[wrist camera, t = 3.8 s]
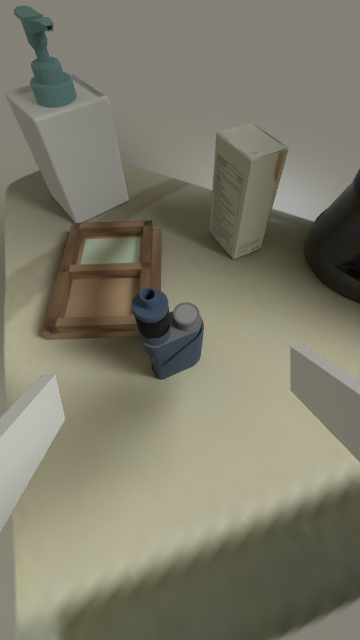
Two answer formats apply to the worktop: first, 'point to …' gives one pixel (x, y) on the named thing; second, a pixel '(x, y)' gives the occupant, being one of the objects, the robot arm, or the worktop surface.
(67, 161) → the soap bottle
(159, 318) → the vaping device
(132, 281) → the divided wooden tray
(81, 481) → the worktop surface
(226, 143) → the skincare box
